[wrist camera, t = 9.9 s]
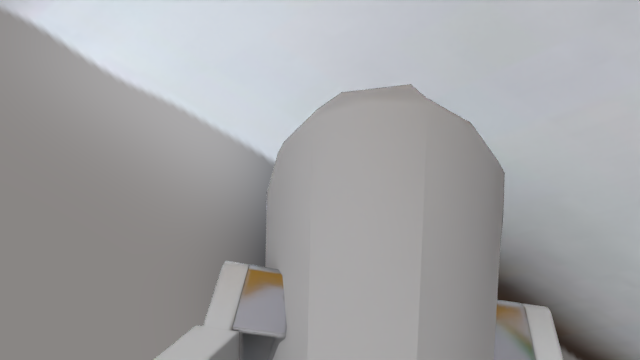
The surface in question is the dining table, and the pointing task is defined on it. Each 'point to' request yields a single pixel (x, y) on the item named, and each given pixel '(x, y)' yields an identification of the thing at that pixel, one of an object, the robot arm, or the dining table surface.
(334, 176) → the salt shaker
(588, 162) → the dining table surface
